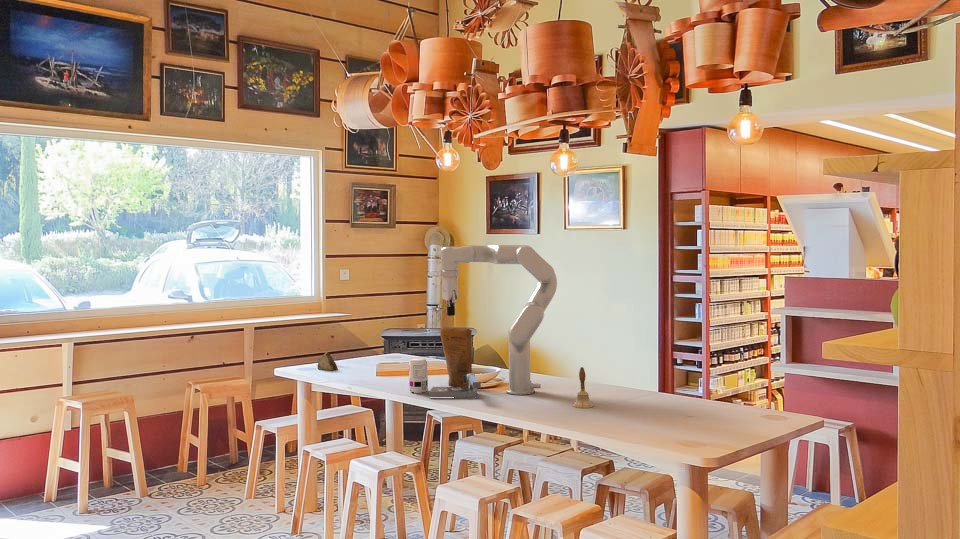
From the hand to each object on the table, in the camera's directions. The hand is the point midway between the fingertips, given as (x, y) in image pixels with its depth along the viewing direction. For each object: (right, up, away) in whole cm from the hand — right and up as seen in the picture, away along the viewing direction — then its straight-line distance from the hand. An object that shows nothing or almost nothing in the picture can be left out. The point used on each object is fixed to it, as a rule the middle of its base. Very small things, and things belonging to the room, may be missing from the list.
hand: (451, 315), depth 347 cm
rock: (-68, -33, +68) cm, 102 cm away
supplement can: (-15, -35, +7) cm, 39 cm away
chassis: (+1, -35, -3) cm, 36 cm away
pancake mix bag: (+3, -34, +16) cm, 38 cm away
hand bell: (+55, -36, -27) cm, 71 cm away
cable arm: (+10, -29, -10) cm, 32 cm away
